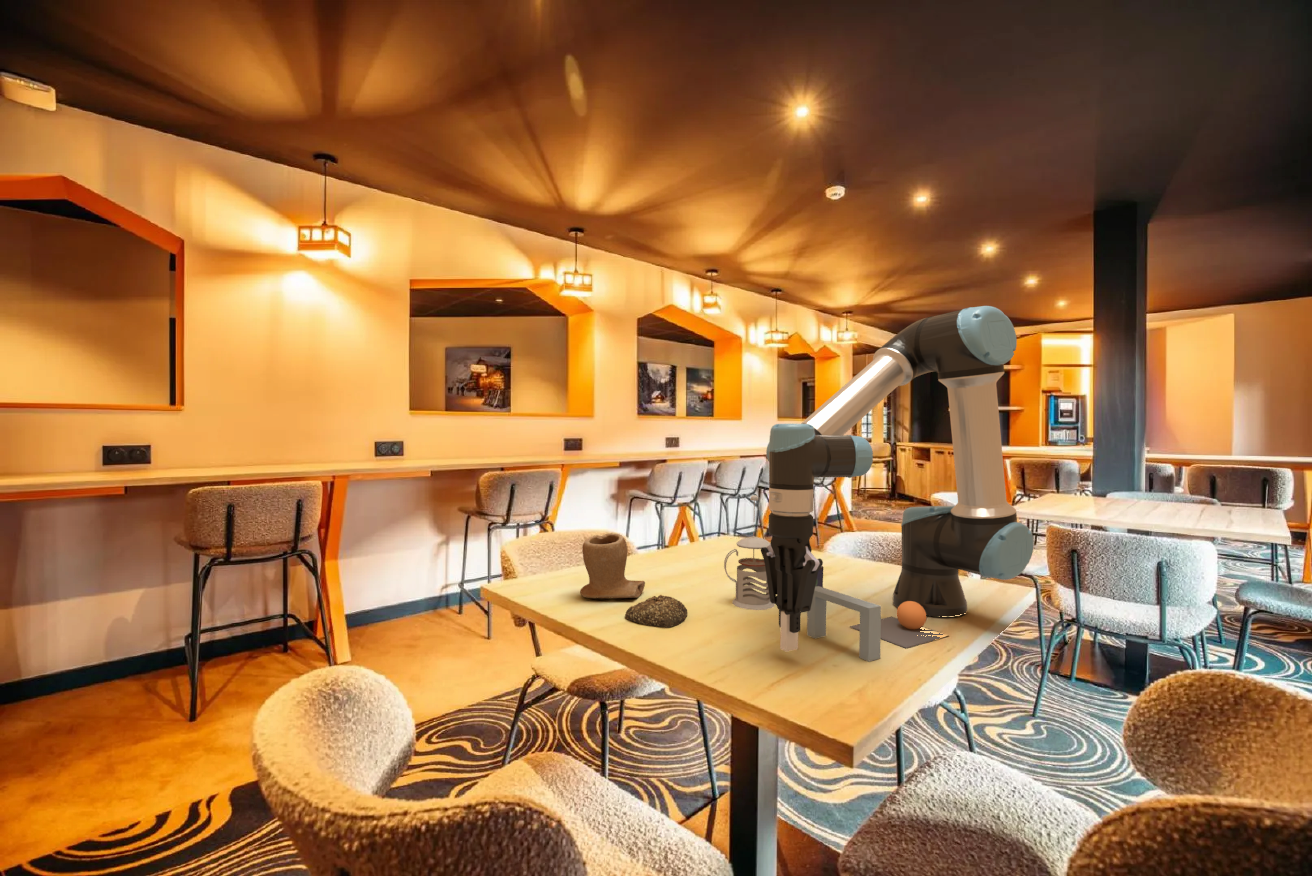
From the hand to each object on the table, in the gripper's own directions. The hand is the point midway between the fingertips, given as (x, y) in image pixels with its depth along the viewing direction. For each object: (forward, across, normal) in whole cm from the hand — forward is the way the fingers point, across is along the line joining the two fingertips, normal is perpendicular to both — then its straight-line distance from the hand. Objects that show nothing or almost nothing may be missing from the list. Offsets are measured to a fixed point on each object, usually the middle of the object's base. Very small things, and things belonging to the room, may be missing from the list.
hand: (789, 648), depth 98 cm
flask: (+2, -21, +25) cm, 33 cm away
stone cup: (+2, -48, -11) cm, 49 cm away
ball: (-1, 0, +33) cm, 33 cm away
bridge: (+2, 0, +13) cm, 13 cm away
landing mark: (+2, 0, +29) cm, 29 cm away
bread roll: (+3, -31, -8) cm, 32 cm away
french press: (+2, -29, +15) cm, 33 cm away
